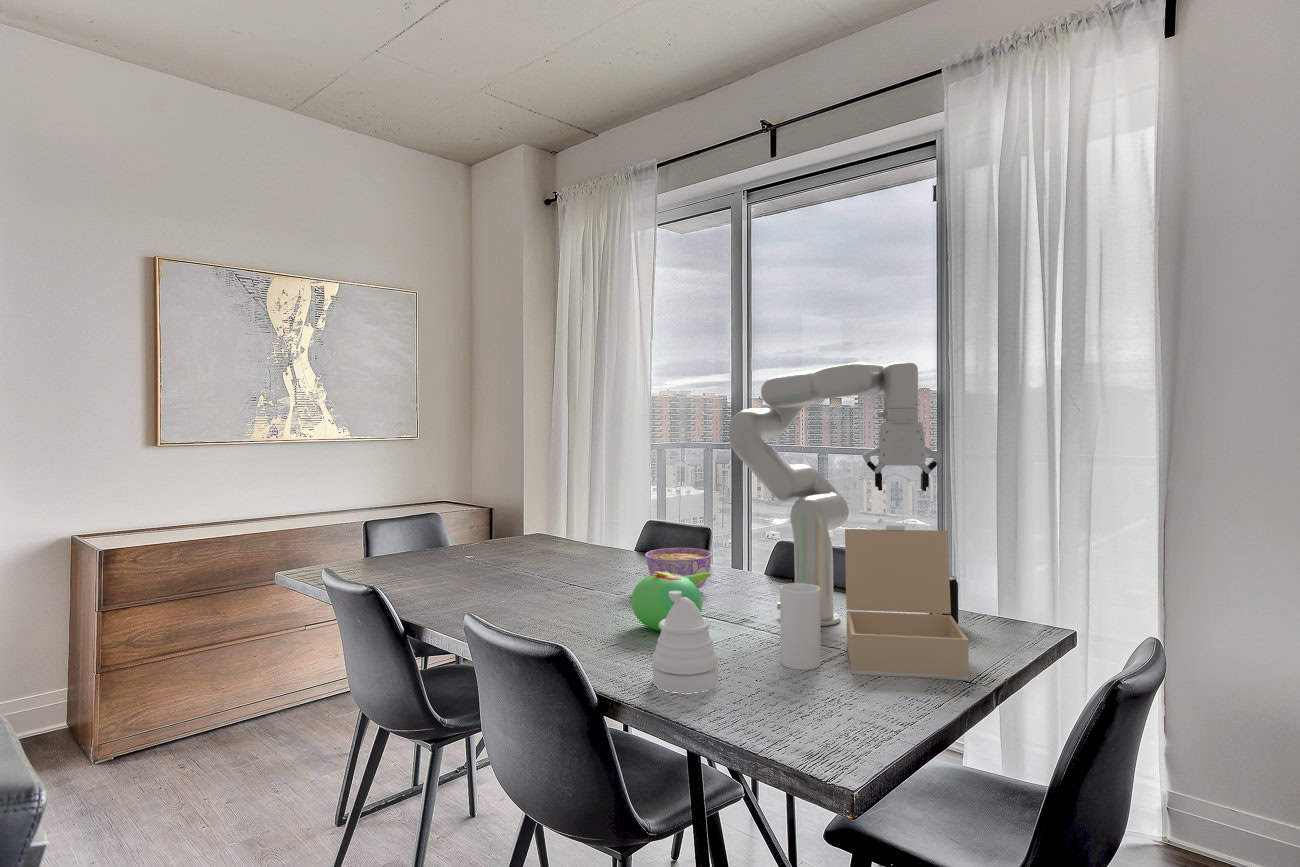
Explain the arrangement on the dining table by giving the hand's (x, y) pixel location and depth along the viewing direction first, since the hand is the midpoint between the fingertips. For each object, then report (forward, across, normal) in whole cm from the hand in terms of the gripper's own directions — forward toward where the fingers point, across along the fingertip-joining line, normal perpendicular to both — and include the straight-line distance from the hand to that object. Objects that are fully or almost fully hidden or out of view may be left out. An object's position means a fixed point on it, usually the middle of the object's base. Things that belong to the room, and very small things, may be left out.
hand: (901, 490), depth 171 cm
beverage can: (+34, +11, +12) cm, 38 cm away
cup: (+34, -23, -22) cm, 47 cm away
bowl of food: (+34, -59, +36) cm, 77 cm away
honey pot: (+35, -45, -37) cm, 68 cm away
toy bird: (+34, -55, -2) cm, 65 cm away
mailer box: (+34, -2, -18) cm, 39 cm away
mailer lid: (+17, -2, -7) cm, 18 cm away
